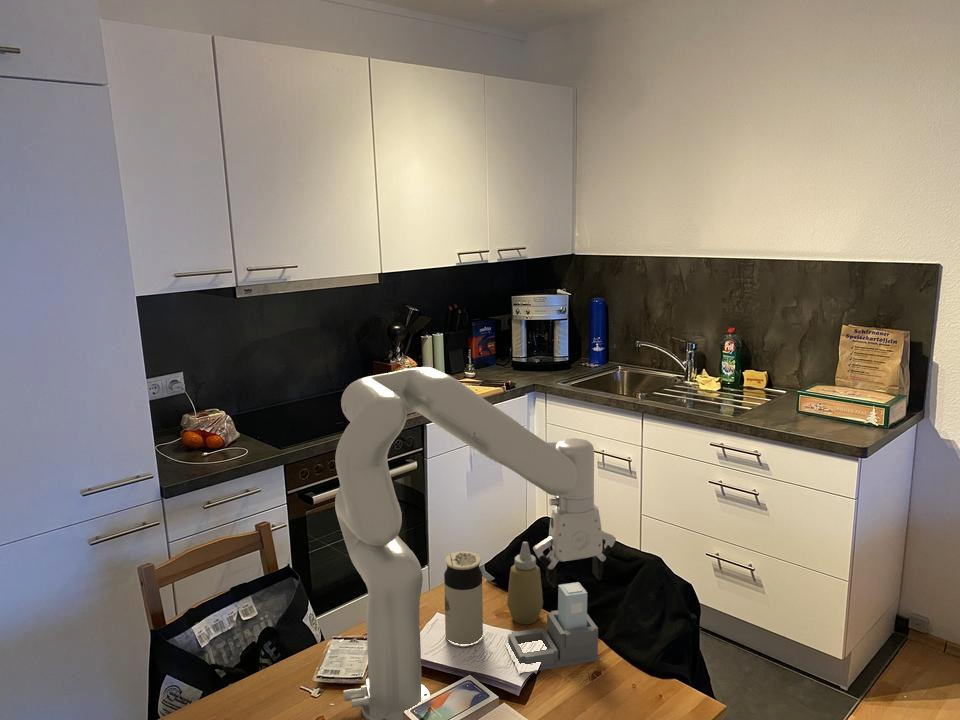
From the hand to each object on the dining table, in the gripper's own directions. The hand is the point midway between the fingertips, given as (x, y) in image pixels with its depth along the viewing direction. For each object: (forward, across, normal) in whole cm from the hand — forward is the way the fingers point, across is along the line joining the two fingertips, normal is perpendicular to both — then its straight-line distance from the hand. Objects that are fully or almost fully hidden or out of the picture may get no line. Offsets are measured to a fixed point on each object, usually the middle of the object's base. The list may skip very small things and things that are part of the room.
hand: (574, 580), depth 144 cm
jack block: (+15, -5, 0) cm, 16 cm away
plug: (+12, -1, 0) cm, 12 cm away
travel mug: (+15, -21, +10) cm, 28 cm away
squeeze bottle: (+16, -6, +14) cm, 22 cm away
